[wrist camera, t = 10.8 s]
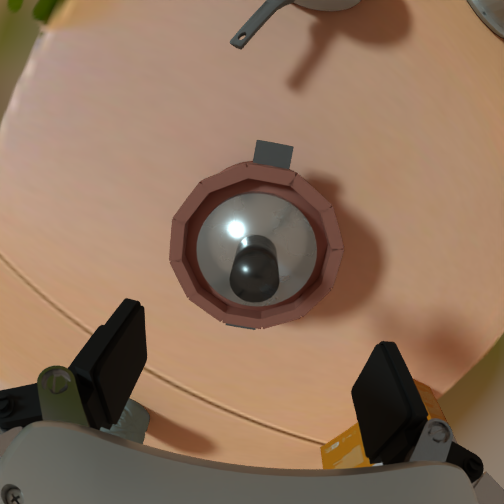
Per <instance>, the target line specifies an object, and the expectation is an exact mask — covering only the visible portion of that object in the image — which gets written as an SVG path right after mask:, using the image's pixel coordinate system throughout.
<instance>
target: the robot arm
mask: <svg viewBox="0 0 504 504" xmlns="http://www.w3.org/2000/svg"><path fill="white" fill-rule="evenodd" d="M467 1H468V2H469V4H470V5H471V7H472V8H473V10H474V11H475V12H476V14H477V15H478V16H479V17H480V18H481V20H482V21H483V22H484V23H485V24H486V25H487V26H488V27H489V28H490V29H491V30H492V31H493V32H495V33H496V34H497V35H499V36H500V37H502V38H504V0H467ZM146 360H147V347H146V332H145V313H144V307H143V306H141V304H140V302H139V301H135V300H131V299H128V298H126V299H124V301H123V302H122V303H121V304H120V306H119V307H118V308H117V309H116V311H115V312H114V313H113V314H112V316H111V317H110V318H109V320H108V321H107V322H106V324H105V325H101V326H99V327H98V328H97V330H96V331H95V332H94V334H93V335H92V336H91V338H90V339H89V340H88V342H87V343H86V344H85V346H84V347H83V348H82V350H81V351H80V352H79V354H78V355H77V356H76V358H75V359H74V361H73V362H72V363H71V365H70V366H69V367H68V369H67V368H65V367H63V366H51V367H48V368H46V369H44V370H43V371H42V372H41V373H40V374H39V377H38V380H37V383H35V384H30V385H26V386H21V387H16V388H11V389H6V390H1V391H0V504H504V489H503V488H502V487H501V486H500V485H499V484H498V483H497V482H496V481H495V480H494V479H493V478H492V477H491V476H490V475H489V474H488V473H487V472H485V473H483V463H482V460H481V459H480V458H479V457H478V456H477V455H476V454H474V453H472V452H470V451H469V450H466V449H465V448H463V447H462V446H460V445H458V444H457V443H455V442H453V441H452V439H453V433H452V429H451V427H450V426H449V425H448V424H447V423H446V422H445V421H444V420H441V419H439V418H433V419H430V420H428V419H427V416H428V415H429V414H428V412H427V410H426V407H425V405H424V403H423V400H422V398H421V396H420V394H419V391H418V389H417V387H416V385H415V383H414V380H413V378H412V376H411V374H410V372H409V370H408V368H407V366H406V364H405V362H404V360H403V358H402V355H401V353H400V351H399V349H398V347H397V345H396V344H395V343H394V342H386V341H382V342H380V343H379V344H377V345H376V346H375V348H374V350H373V351H372V353H371V355H370V357H369V359H368V361H367V363H366V364H365V366H364V368H363V370H362V372H361V373H360V375H359V377H358V379H357V380H356V382H355V384H354V385H353V387H352V391H351V394H352V399H353V403H354V407H355V411H356V415H357V420H358V424H359V428H360V433H361V437H362V442H363V447H364V451H365V456H366V457H367V458H369V462H370V464H376V463H382V464H383V465H380V466H370V467H359V468H346V469H279V468H265V467H254V466H245V465H237V464H229V463H223V462H216V461H211V460H205V459H200V458H195V457H190V456H186V455H181V454H177V453H173V452H169V451H165V450H161V449H157V448H154V447H150V446H147V445H143V444H140V443H136V442H133V441H130V440H127V439H124V438H121V437H118V436H115V435H112V434H109V433H106V432H103V431H100V428H101V427H103V428H105V429H108V430H110V429H111V427H112V424H114V425H116V424H117V423H118V421H119V419H120V417H121V414H122V412H123V410H124V408H125V406H126V403H127V401H128V399H129V397H130V395H131V393H132V391H133V389H134V386H135V384H136V382H137V380H138V378H139V376H140V374H141V372H142V370H143V368H144V366H145V363H146Z"/></svg>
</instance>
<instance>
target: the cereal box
mask: <svg viewBox="0 0 504 504" xmlns="http://www.w3.org/2000/svg"><path fill="white" fill-rule="evenodd" d="M413 380H414V383H415V385H416V387H417V389H418V391H419V394H420V396H421V398H422V400H423V403H424V405H425V407H426V410H427V412H428V414H429V415H428V416H427V419H428V420H430V419H433V418H439V419H441V420H444V421H445V422H446V423H447V424H448V422H447V420H446V418H445V416H444V414H443V412H442V410H441V408H440V406H439V404H438V402H437V400H436V398H435V397H434V395H433V393H432V391H431V389H430V387H428V386H426V385H424V384H422V383H420V382H418V381H416V380H415V379H413ZM452 441H453V442H455V443H457V441H456V439H455V437H454V435H453V439H452ZM320 448H321V456H322V464H323V469H346V468H359V467H370V466H380V465H383V464H382V463H376V464H370V462H369V458H367V457H366V456H365V451H364V447H363V442H362V437H361V433H360V428H359V424H358V422H357V423H356V424H355V425H353V426H352V427H350V428H349V429H348V430H346V431H345V432H343V433H342V434H340V435H339V436H337V437H336V438H334V439H333V440H331V441H330V442H328V443H326V444H325V445H323V446H322V447H320Z"/></svg>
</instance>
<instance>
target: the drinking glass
mask: <svg viewBox="0 0 504 504" xmlns="http://www.w3.org/2000/svg"><path fill="white" fill-rule="evenodd" d="M149 420H150V416H149V413H148V412H147V410H146V409H145V408H144V407H143V406H141V405H140V404H139V403H137V402H136V401H134V400H132V399H130V398H129V399H128V401H127V403H126V406H125V408H124V410H123V412H122V414H121V417H120V419H119V421H118V423H117V424H116V425H114V424H112V427H111V429H110V430H108V429H105V428H103V427H101V428H100V431H103V432H106V433H109V434H112V435H115V436H118V437H121V438H124V439H127V440H130V441H133V442H136V443H140V444H143V441H144V438H145V432H146V431H147V428H148V424H149Z"/></svg>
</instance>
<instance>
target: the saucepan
mask: <svg viewBox="0 0 504 504" xmlns="http://www.w3.org/2000/svg"><path fill="white" fill-rule="evenodd" d="M360 1H361V0H266V2H265V3H264V4H263V5H262V6H261V7H260V8H259V9H258V10H257V11H256V12H255V13H254V14H253V15H252V16H251V18H250V19H249V20H248V21H247V22H246V23H245V24H244V25H243V27H242V28H241V29H240V30H239V31H238V32H237V33H236V35H235V36H234V37H233V38H232V39H231V41H230V44H231V45H233V46H234V47H236V48H238V49H242V48H243V47H244V46H245V45H246V44H247V43H248V41H249V40H250V39H251V38H252V37H253V36H254V35H255V33H256V32H257V31H258V30H259V29H260V28H261V27H262V26H263V25H264V23H265V22H266V21H267V20H268V19H269V18H270V17H271V16H272V15H273V14H274V13H275V12H276V11H277V10H278V9H280V8H282V7H284V6H286V5H288V4H291V3H295V4H298V5H300V6H303V7H306V8H309V9H314V10H320V11H341V10H345V9H349V8H351V7H353V6H355V5H356V4H358V3H359V2H360ZM244 35H245V36H246V37H245V38H244V39H242V40H239V39H240V37H241V36H244Z"/></svg>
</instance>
